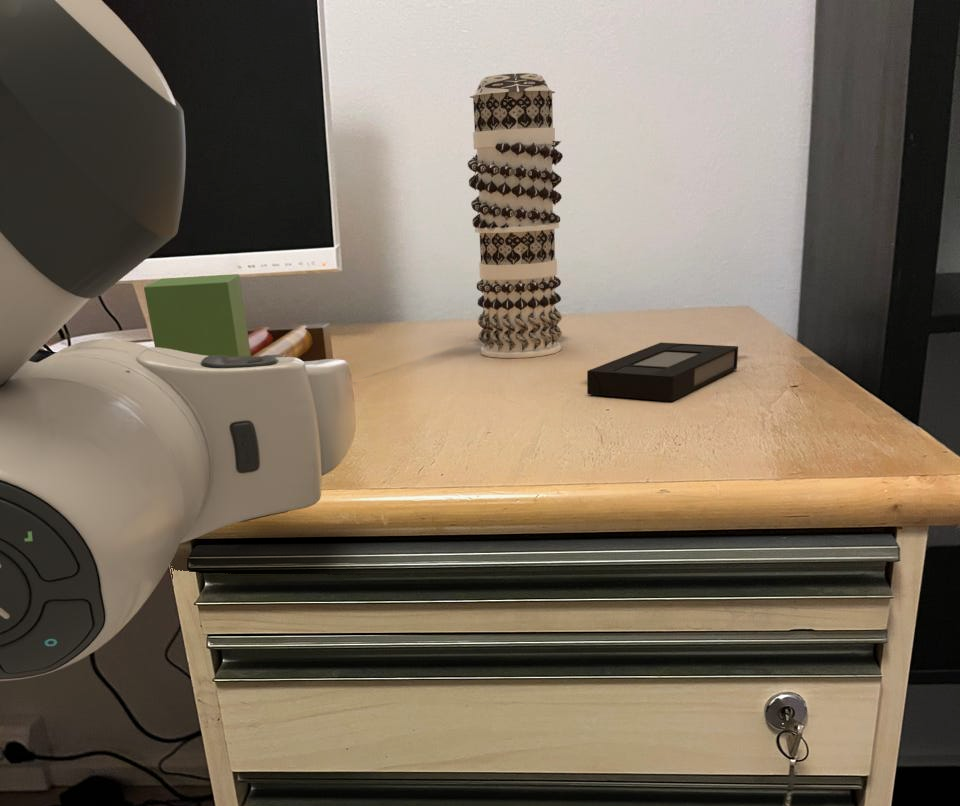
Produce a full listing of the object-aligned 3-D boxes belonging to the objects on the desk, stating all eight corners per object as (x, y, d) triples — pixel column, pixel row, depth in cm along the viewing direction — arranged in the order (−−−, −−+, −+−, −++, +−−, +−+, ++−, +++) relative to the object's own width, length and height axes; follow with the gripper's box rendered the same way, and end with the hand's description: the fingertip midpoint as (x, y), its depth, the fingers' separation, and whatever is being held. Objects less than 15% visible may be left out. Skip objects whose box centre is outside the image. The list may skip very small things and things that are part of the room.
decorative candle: (581, 345, 104) (579, 73, 93) (535, 360, 97) (528, 68, 86) (508, 341, 109) (498, 82, 98) (459, 355, 102) (443, 78, 91)
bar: (179, 481, 64) (143, 286, 59) (193, 460, 69) (161, 278, 64) (256, 475, 65) (227, 281, 59) (265, 455, 69) (239, 274, 64)
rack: (186, 430, 77) (174, 363, 75) (253, 380, 95) (245, 325, 93) (286, 426, 77) (277, 359, 75) (335, 376, 95) (329, 321, 93)
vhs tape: (737, 369, 88) (739, 346, 87) (671, 402, 78) (672, 376, 77) (660, 364, 92) (660, 342, 91) (587, 395, 82) (587, 370, 81)
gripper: (-113, 536, 43) (1, 455, 56) (354, 503, 44) (363, 431, 57) (-160, 391, 41) (-30, 340, 53) (338, 359, 42) (351, 316, 54)
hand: (176, 387), depth 55 cm, fingers open, 8 cm apart
